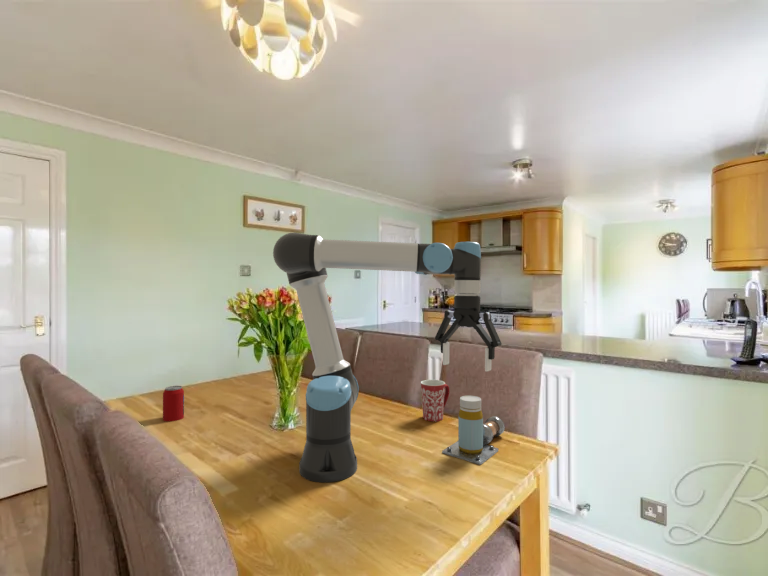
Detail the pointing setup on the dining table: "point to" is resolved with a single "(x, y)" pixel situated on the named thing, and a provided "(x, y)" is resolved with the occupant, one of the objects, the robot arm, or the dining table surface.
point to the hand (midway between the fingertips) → (466, 367)
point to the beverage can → (173, 403)
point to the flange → (490, 429)
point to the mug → (434, 399)
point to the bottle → (470, 425)
